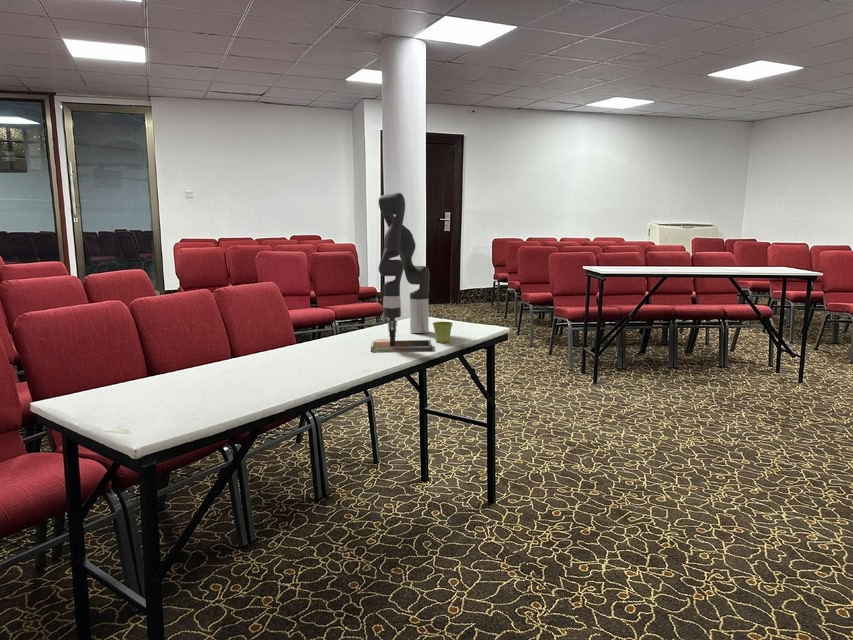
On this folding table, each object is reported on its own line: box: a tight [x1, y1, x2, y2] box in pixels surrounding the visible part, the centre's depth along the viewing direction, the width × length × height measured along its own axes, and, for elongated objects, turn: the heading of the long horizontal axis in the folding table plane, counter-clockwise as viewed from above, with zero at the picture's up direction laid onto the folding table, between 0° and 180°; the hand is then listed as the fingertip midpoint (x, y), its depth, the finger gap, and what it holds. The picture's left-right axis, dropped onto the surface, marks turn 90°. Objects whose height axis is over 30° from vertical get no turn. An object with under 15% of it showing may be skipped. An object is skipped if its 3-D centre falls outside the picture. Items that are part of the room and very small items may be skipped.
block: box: [374, 338, 391, 348], centre depth 254 cm, size 6×6×4 cm
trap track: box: [370, 339, 433, 353], centre depth 254 cm, size 11×26×2 cm, turn 92°
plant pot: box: [431, 321, 454, 344], centre depth 268 cm, size 9×9×9 cm
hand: (392, 345), depth 254 cm, fingers closed
